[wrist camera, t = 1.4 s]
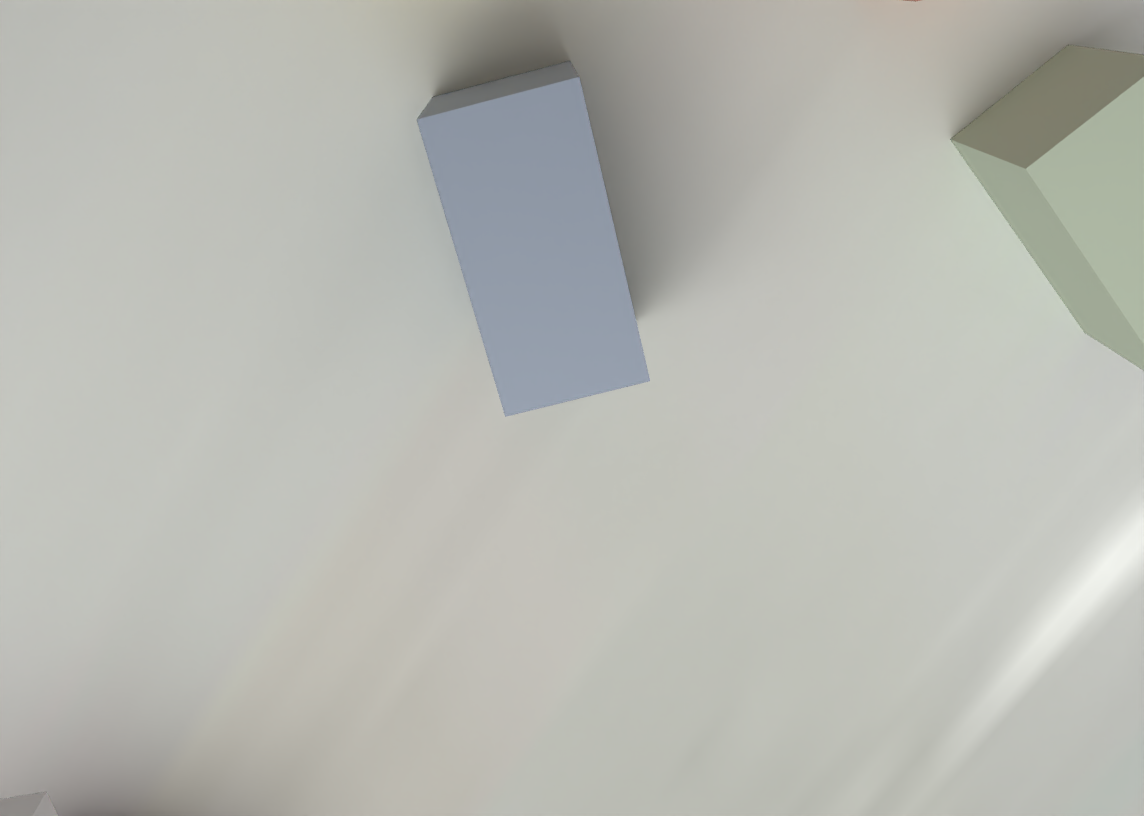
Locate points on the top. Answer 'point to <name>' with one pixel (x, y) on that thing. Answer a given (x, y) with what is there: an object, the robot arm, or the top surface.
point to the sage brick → (1074, 184)
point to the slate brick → (535, 237)
